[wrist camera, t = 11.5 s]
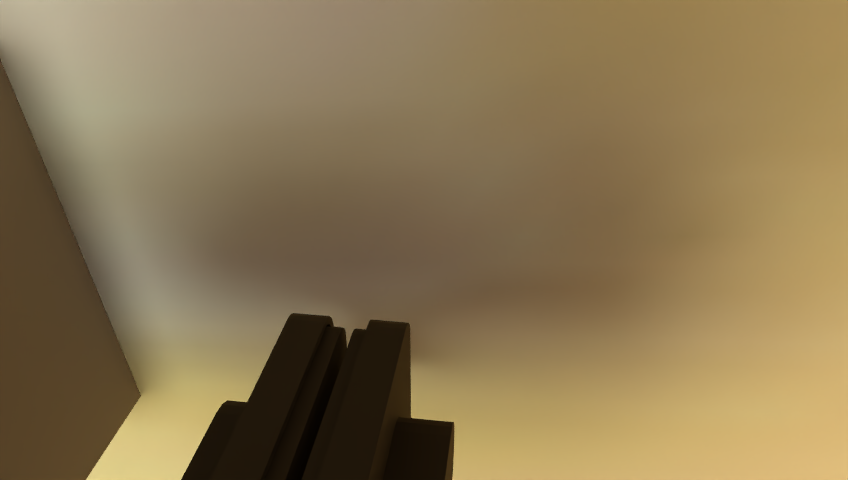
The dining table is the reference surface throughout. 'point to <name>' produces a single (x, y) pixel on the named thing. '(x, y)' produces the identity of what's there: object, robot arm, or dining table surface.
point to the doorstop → (50, 326)
